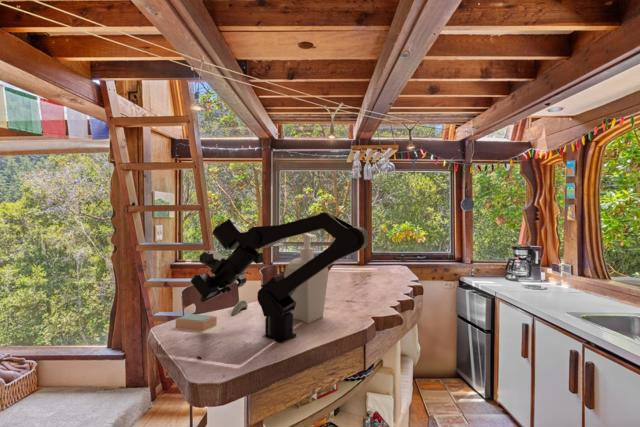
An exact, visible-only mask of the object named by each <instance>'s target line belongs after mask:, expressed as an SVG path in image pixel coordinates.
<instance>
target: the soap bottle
mask: <svg viewBox="0 0 640 427" xmlns="http://www.w3.org/2000/svg"><path fill="white" fill-rule="evenodd" d="M299 236H303V247H301V248H299V249H300V255H299V256H300V257H299V258H293V259H292V260H291V261H290V262H289V263H288V265H287V266H286V267H285V270H284V273H283V275H284V278H285V277H287V276H288V275H290V274H291V273H293V272H294V271H296V270H297V269H298V268H300V267H301V266H303V265H304V264H306V263H307V262H308V261H310V260H311V259H313V258H314V257H315V256H314V254H315V253H314V251H315V250H314V248H312V247H311V239H317V236H316V235H314V234H312V233H310V232H309V233H305V234H301V235H297V236H293V237H289V238H290V239H294V238H295V237H299ZM328 279H329V267H327V268H326V269H324V270H323V271H321V272H320V273H318V274H317V275H315V276H314V277H312V278H311V279H309V280H308V281H306V282H305V283H303V284H302V285H301V286H299V287H298V288H297V289H296V290H295V291H294V292H293V294H292V295H291V297H292V298H293V300H294V301H295V302H296V306H295V309H294V310H293V311H291V313H293V320H301V321H300V322H301V323H306V324H310V323H312V322H313V321H316V320H319V319H321V318H323V317H324V312H325V311H324V310H325V302H326V294H327V288H328V287H327V286H328Z"/></svg>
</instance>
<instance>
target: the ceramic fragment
mask: <svg viewBox="0 0 640 427" xmlns="http://www.w3.org/2000/svg"><path fill="white" fill-rule="evenodd" d="M248 306H249V305H248V303H247V302H246V300H240V301H238V302H237V303H236V304H235V305H234V306H233V307H232V308H231V309H229V310H227V313H228V314H230V315H231V317H234V316H237V315H238V313H239V312H240V311H241V310H242V309H245V308H248Z"/></svg>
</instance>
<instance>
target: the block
mask: <svg viewBox="0 0 640 427" xmlns="http://www.w3.org/2000/svg"><path fill="white" fill-rule="evenodd" d="M217 319H218V318H217V316H215V315H206V314H196V313H189V314H186V315H183V316H180V317H178V318H175V328H176V327H178V328H186V329H195V330H203V331H204V330H206V329H208V328H210V327H212V326H214V325H217V323H218V320H217Z"/></svg>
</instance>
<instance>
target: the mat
mask: <svg viewBox="0 0 640 427" xmlns="http://www.w3.org/2000/svg"><path fill="white" fill-rule="evenodd" d="M229 325H230V323H225V322H223V323H222V322H217V325H214V326H212V327H210V328H208V329H206V330H204V331H203V330H195V329H186V328H178V327H176V326H175V327H174V328H172V330H176V331H184V332H185V331H186V332H194V333H199V334H200V333H201V334H213V333H215V332H217V331H218V330H221V329H223V328H225V327H227V326H229Z"/></svg>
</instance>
